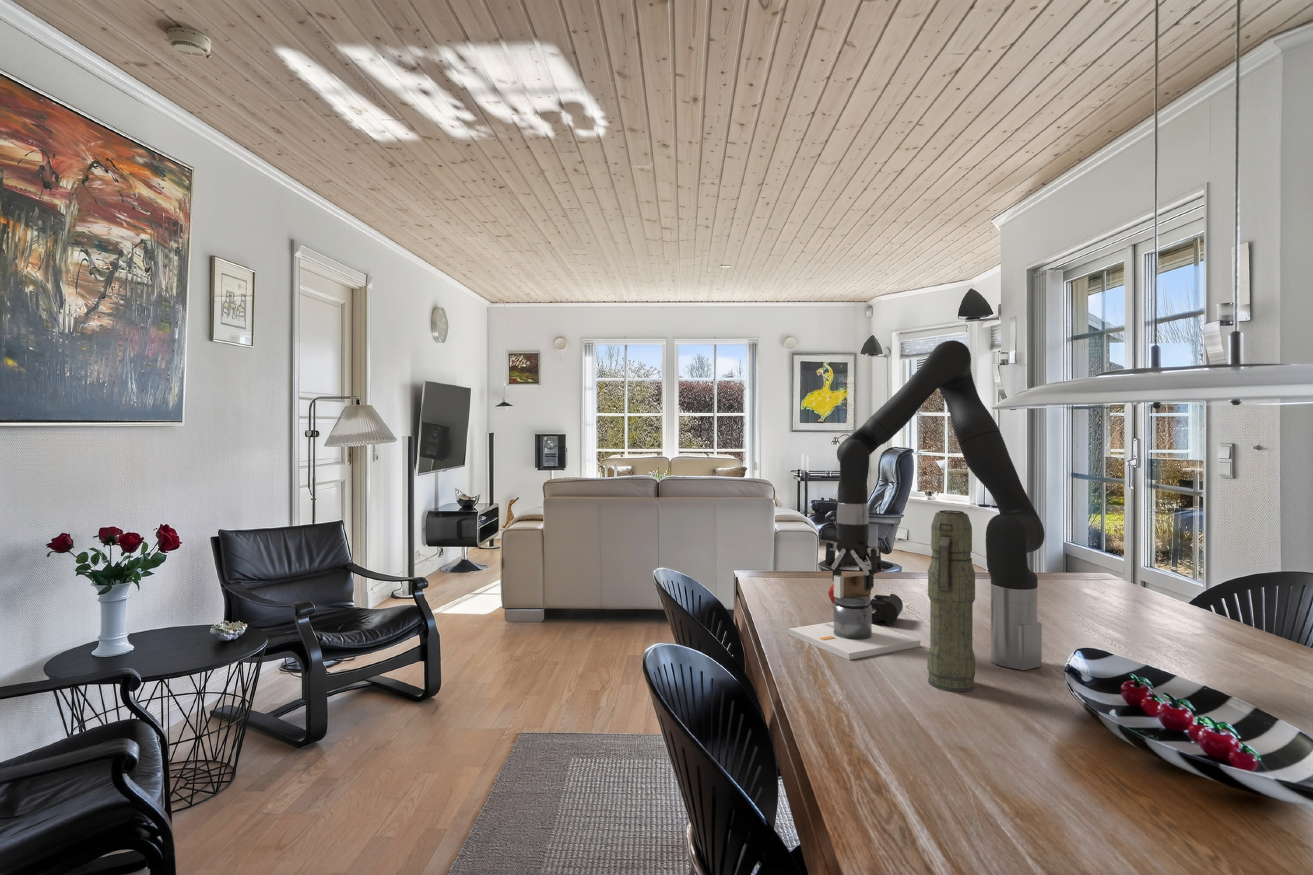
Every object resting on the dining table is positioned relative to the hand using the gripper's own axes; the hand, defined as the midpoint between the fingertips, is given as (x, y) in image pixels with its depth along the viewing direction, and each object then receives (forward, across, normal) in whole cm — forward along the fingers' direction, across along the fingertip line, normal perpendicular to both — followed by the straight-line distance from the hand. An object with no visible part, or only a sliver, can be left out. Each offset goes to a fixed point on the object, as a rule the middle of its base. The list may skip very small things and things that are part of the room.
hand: (852, 587), depth 173 cm
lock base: (+13, 0, 0) cm, 13 cm away
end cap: (+13, +4, -22) cm, 26 cm away
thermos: (+13, -30, +11) cm, 35 cm away
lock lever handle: (+4, 0, 0) cm, 4 cm away
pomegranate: (+13, +20, -28) cm, 37 cm away
